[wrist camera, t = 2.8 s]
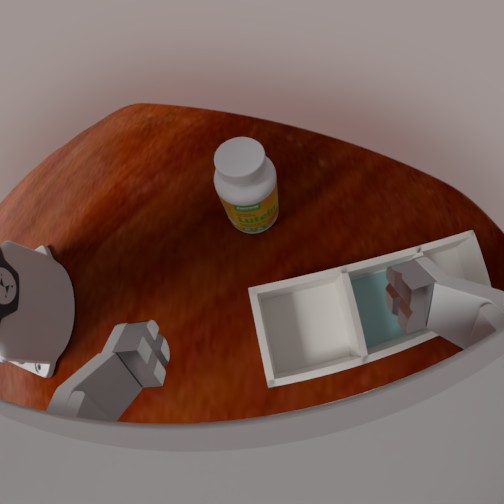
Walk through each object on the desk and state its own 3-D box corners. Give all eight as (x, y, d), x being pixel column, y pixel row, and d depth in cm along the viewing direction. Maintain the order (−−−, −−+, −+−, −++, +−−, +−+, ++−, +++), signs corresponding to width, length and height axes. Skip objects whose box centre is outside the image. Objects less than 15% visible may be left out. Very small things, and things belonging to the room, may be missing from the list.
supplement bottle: (241, 243, 28) (219, 196, 19) (221, 203, 30) (195, 148, 21) (288, 220, 28) (287, 165, 19) (265, 182, 30) (255, 121, 21)
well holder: (271, 379, 24) (268, 387, 19) (254, 296, 26) (248, 288, 22) (472, 312, 22) (495, 305, 18) (452, 244, 25) (473, 229, 21)
